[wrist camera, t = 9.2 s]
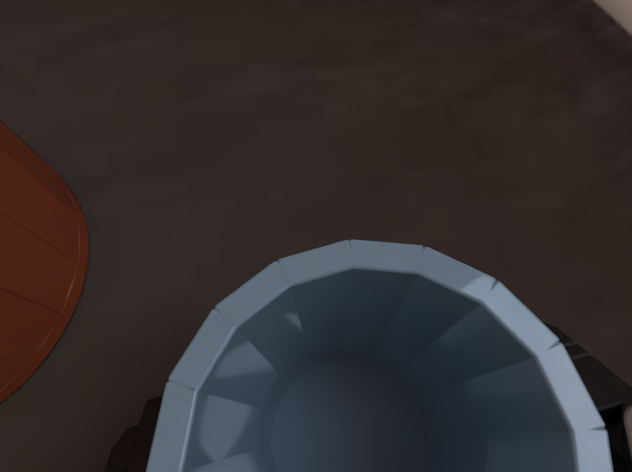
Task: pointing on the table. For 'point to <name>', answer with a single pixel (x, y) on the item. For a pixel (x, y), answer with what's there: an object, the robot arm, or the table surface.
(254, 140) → the table surface
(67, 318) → the flower pot
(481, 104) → the table surface
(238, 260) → the table surface
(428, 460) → the enamel cup
